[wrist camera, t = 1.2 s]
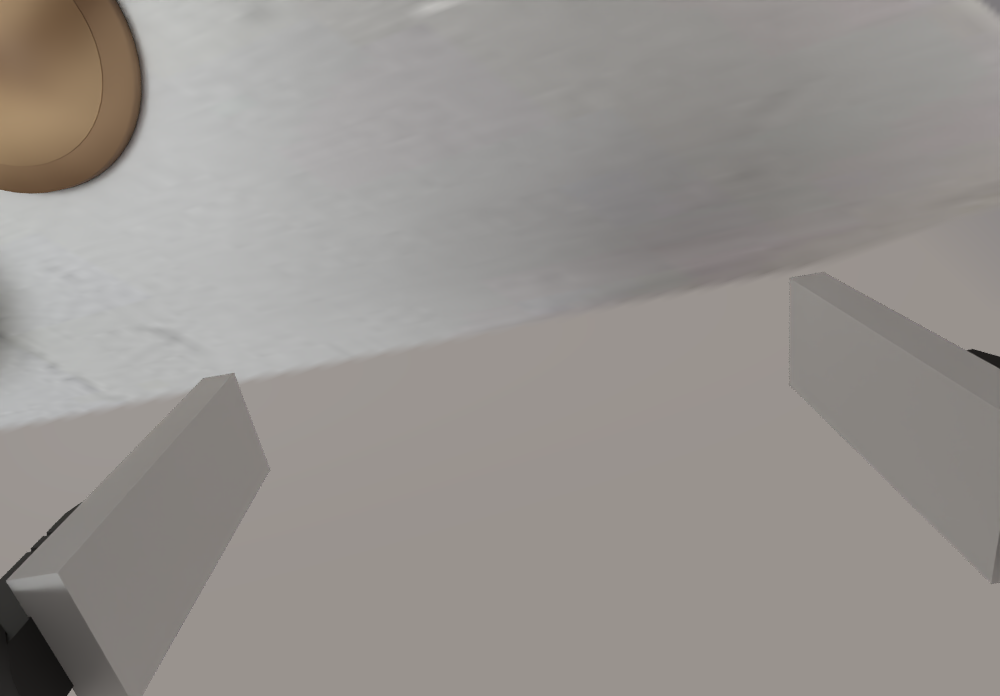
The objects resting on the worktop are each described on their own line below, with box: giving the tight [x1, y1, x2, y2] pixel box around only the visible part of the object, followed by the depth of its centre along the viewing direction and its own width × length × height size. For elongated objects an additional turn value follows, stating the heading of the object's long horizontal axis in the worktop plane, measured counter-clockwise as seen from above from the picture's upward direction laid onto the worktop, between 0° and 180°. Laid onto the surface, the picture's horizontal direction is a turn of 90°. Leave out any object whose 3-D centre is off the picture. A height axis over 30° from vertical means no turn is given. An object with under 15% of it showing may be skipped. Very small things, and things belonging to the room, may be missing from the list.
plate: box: [0, 0, 141, 193], centre depth 33 cm, size 14×14×1 cm
